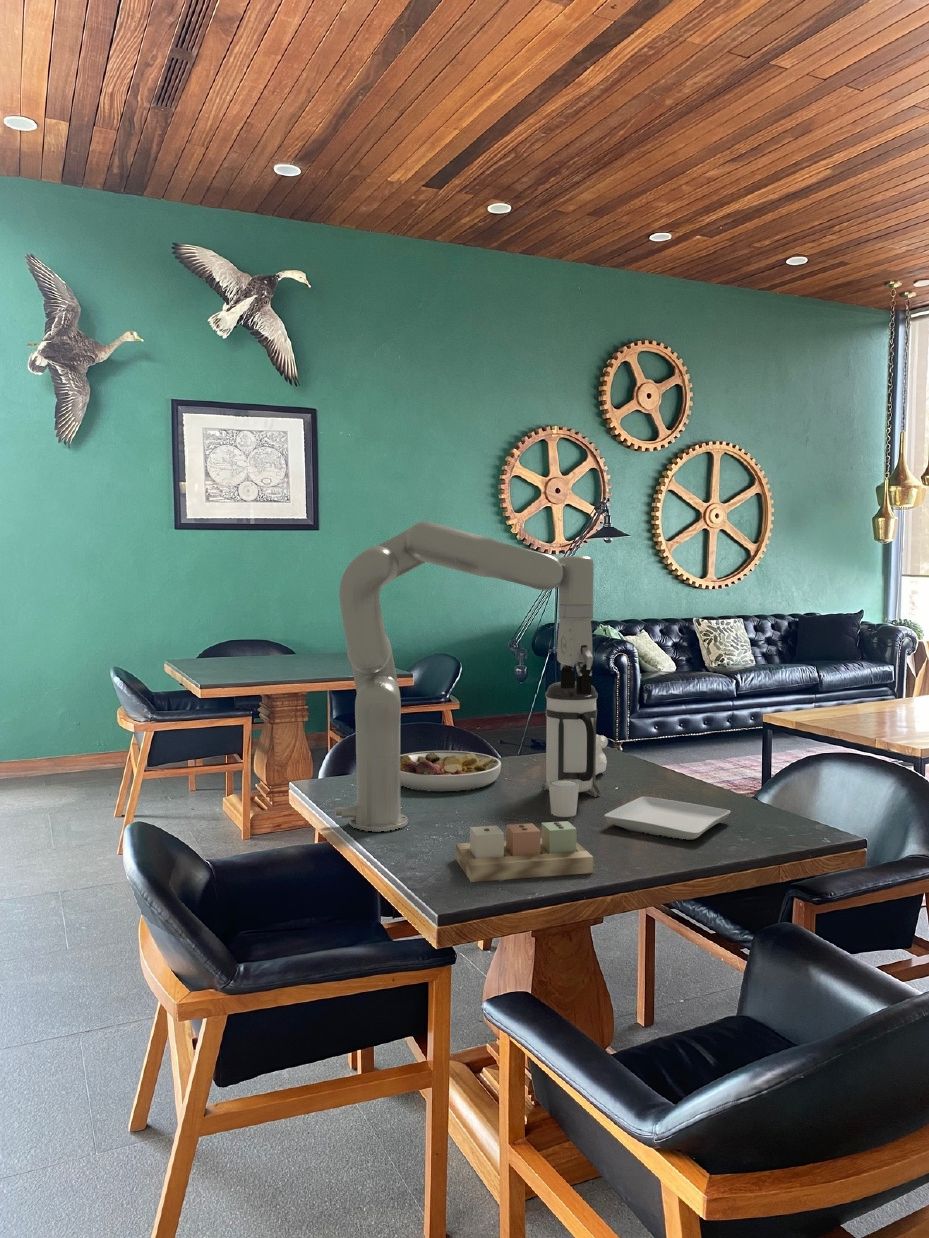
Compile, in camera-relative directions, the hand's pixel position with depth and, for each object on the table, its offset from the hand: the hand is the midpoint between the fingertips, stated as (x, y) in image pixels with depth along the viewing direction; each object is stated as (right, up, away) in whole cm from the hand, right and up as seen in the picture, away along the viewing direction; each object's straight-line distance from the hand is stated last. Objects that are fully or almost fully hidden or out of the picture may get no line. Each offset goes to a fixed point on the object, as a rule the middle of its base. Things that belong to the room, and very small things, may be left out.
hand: (575, 691), depth 204 cm
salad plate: (+20, -30, -2) cm, 36 cm away
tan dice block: (-13, -28, -29) cm, 43 cm away
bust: (+11, -26, +48) cm, 56 cm away
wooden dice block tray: (-13, -31, -29) cm, 44 cm away
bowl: (-30, -27, +40) cm, 56 cm away
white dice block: (-20, -28, -30) cm, 46 cm away
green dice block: (-6, -28, -27) cm, 40 cm away
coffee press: (+3, -27, +25) cm, 37 cm away
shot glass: (-2, -29, +8) cm, 30 cm away
